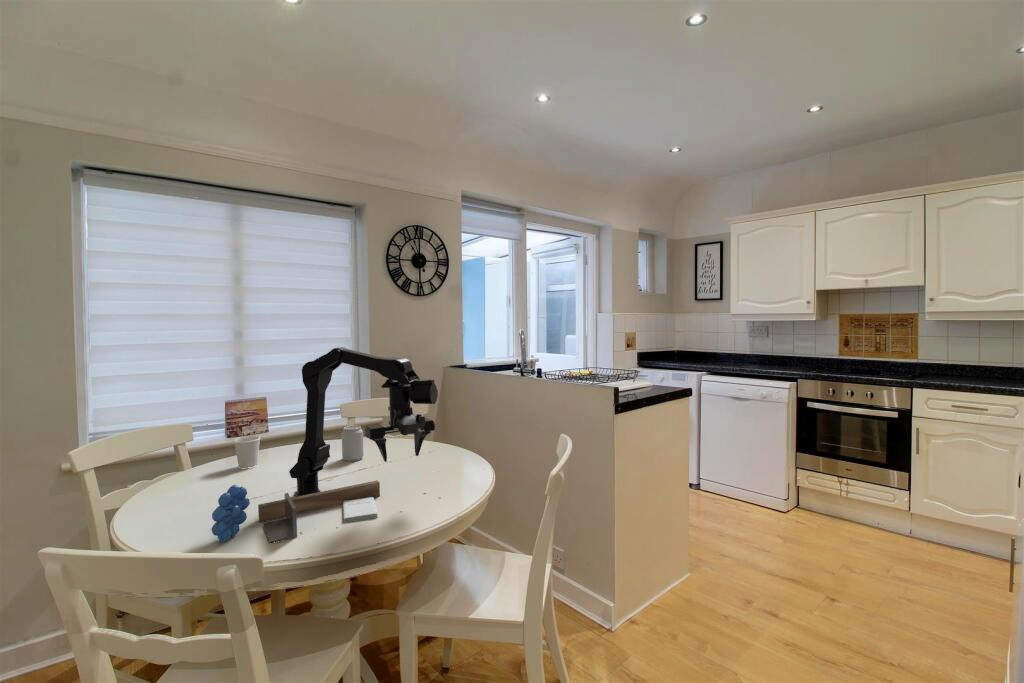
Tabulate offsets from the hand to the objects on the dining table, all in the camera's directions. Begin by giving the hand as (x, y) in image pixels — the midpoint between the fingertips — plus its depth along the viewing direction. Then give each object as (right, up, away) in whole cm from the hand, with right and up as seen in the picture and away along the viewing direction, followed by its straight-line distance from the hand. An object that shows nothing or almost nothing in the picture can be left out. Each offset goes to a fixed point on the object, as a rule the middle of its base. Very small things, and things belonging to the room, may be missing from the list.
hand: (401, 458), depth 132 cm
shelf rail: (-21, -13, -3) cm, 24 cm away
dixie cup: (-62, -12, +34) cm, 72 cm away
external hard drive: (-10, -13, -6) cm, 17 cm away
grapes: (-36, -14, -20) cm, 44 cm away
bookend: (-25, -13, -18) cm, 34 cm away
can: (-28, -11, +42) cm, 51 cm away
